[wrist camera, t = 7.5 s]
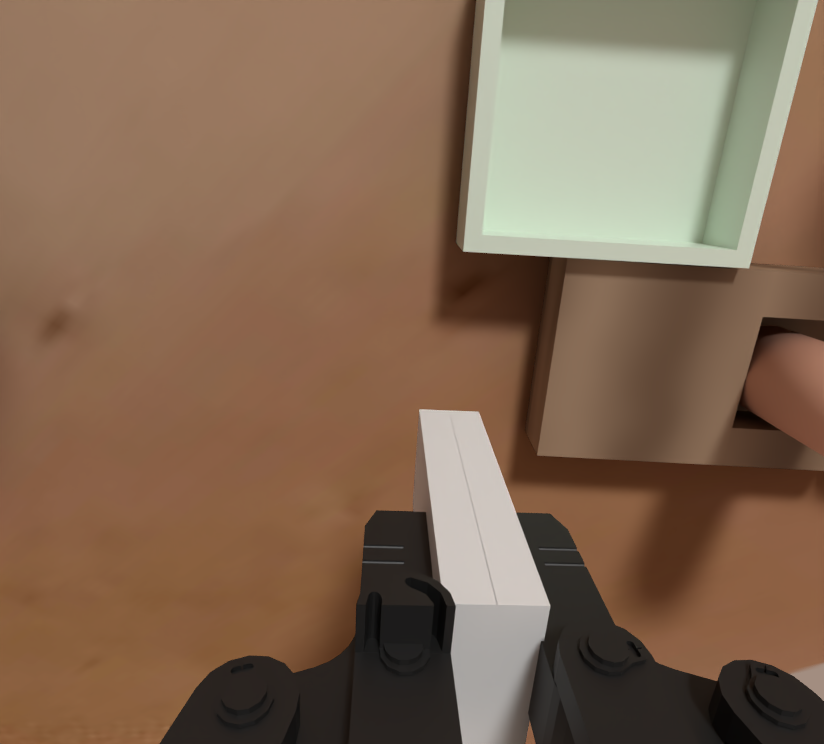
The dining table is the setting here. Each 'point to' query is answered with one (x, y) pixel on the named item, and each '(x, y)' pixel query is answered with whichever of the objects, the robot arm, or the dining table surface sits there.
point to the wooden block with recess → (664, 361)
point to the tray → (627, 126)
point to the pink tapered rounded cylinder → (788, 384)
